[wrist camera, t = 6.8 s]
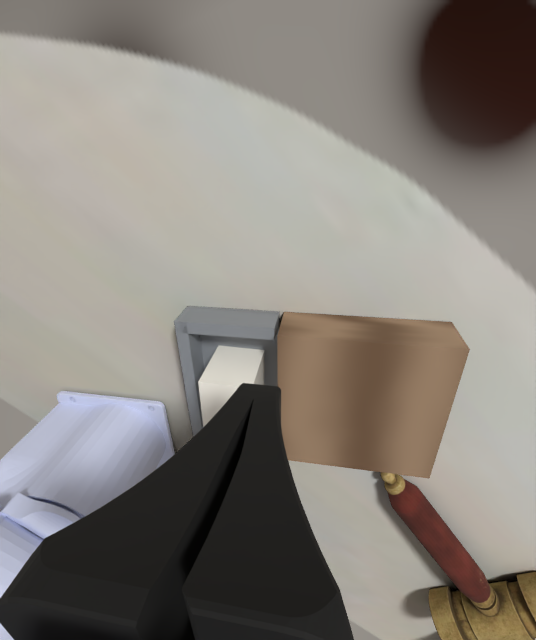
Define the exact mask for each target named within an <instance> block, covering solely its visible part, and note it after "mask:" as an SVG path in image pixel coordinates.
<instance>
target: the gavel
mask: <svg viewBox="0 0 536 640" xmlns="http://www.w3.org/2000/svg"><path fill="white" fill-rule="evenodd" d="M381 478H382V479H383V480H384V481H385V489H386V490H387V492H388V495H389V499H390V502H391V505H392V507H393V509H394V510H395V511H396V512H397V514H398V515H399V516H400V517H401V519H402V520H403V521H404V522H405V524H406V525H407V526H408V527H409V529H410V530H411V531H412V532H413V533H414V535H415V536H416V537H417V538H418V540H419V541H420V542H421V543H422V545H423V546H424V547H425V548H426V550H427V551H428V552H429V553H430V554H431V556H432V557H433V558H434V559H435V561H436V562H437V563H438V564H439V566H440V567H441V568H442V569H443V571H444V572H445V573H446V574H447V576H448V577H449V578H450V579H451V580H452V582H453V583H454V584H455V585H456V587H457V588H458V589H459V591H453V590H452V589H451V588H450V587H449V586H445V587H439V588H433V589H430V591H429V607H430V611H431V615H432V619H433V622H434V625H435V627H436V630H437V632H438V635H439V637H440V639H441V640H535V638H536V571H535V572H529V573H523V574H517V579H518V581H516V582H510V583H509V582H508V581H501V582H495V583H488V581H487V579H486V577H485V575H484V573H483V572H482V570H481V569H480V568H479V566H478V565H477V564H476V563H475V561H474V560H473V559H472V557H471V556H470V555H469V553H468V552H467V551H466V549H465V548H464V547H463V546H462V544H461V543H460V542H459V540H458V539H457V538H456V536H455V535H454V534H453V533H452V531H451V530H450V529H449V527H448V526H447V525H446V523H445V522H444V521H443V520H442V518H441V517H440V516H439V514H438V513H437V512H436V510H435V509H434V508H433V507H432V505H431V504H430V503H429V501H428V500H427V499H426V497H425V496H424V495H423V493H422V492H421V491H420V490H419V488H418V487H417V486H415V485H414V484H412V483H410V482H408V481H407V480H405V479H403V478H402V477H401V476H400V475H398V474H392V473H384V472H381Z"/></svg>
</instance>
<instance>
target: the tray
mask: <svg viewBox="0 0 536 640" xmlns="http://www.w3.org/2000/svg"><path fill="white" fill-rule="evenodd" d="M174 325H175V331H176V337H177V343H178V349H179V355H180V361H181V367H182V373H183V379H184V385H185V391H186V397H187V403H188V409H189V415H190V421H191V427H192V433H193V437H194V436H195V435H196V434H197V433H198V432H199V431H200V430H201V429H202V428H203V420H202V411H201V402H200V393H199V384H198V381H199V380H200V378H201V376H202V374H203V372H204V371H205V369H206V367H207V365H208V363H209V362H210V360H211V358H212V356H213V354H214V353H215V351H216V349H217V347H218V345H219V346H229V347H239V348H249V349H259V350H264V385H270V386H278V365H277V335H278V332H279V312H277V311H261V310H244V309H228V308H212V307H195V306H187V307H186V308H185V309H184V311H183V312H182V313H181V314H180V315H179V316H178V317H177V319H176V320H175V321H174Z"/></svg>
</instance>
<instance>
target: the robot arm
mask: <svg viewBox="0 0 536 640" xmlns="http://www.w3.org/2000/svg"><path fill="white" fill-rule="evenodd" d="M57 399H58V402H59V404H58V405H57V406H56V407H54V408H53V409H52V410H51V411H50V412H49V413H48V414H47V415H46V416H45V417H44V418H43V419H42V420H41V421H40V422H39V423H38V424H37V425H36V426H35V427H34V428H33V429H32V430H31V431H30V432H28V433H27V434H26V435H25V436H24V437H23V438H22V439H21V440H20V441H19V442H18V443H17V444H16V445H15V446H14V447H13V448H12V449H11V450H10V451H9V452H8V453H7V454H6V455H5V456H4V457H3V458H2V459H1V460H0V640H354V639H353V635H352V631H351V627H350V624H349V620H348V616H347V613H346V610H345V607H344V603H343V600H342V596H341V593H340V589H339V587H338V585H337V583H336V581H335V579H334V577H333V575H332V573H331V571H330V569H329V567H328V565H327V563H326V561H325V559H324V556H323V554H322V552H321V550H320V548H319V545H318V543H317V541H316V539H315V536H314V534H313V532H312V529H311V527H310V524H309V521H308V519H307V516H306V514H305V511H304V509H303V506H302V504H301V501H300V498H299V495H298V492H297V489H296V486H295V483H294V480H293V477H292V473H291V470H290V466H289V462H288V459H287V454H286V450H285V446H284V441H283V435H282V429H281V389H280V388H279V387H278V386H270V385H260V384H249V383H242V384H241V385H240V386H239V387H238V388H237V390H236V391H235V392H234V393H233V395H232V396H231V397H230V398H229V400H228V401H227V402H226V403H225V404H224V405H223V407H222V408H221V409H220V410H219V411H218V412H217V413H216V414H215V415H214V416H213V418H212V419H211V420H210V421H209V422H208V423H207V424H206V425H205V426H204V427H203V428H202V429H201V430H200V431H199V432H198V433H197V434H196V435H195V436H194V437H193V438H192V439H191V440H190V441H189V442H188V443H187V444H186V445H185V446H183V447H182V448H181V449H180V450H179V451H178V452H177V453H176V454H175V452H174V447H173V442H172V438H171V433H170V428H169V423H168V418H167V414H166V409H165V405H164V404H163V403H162V402H159V401H151V400H142V399H133V398H123V397H114V396H105V395H96V394H87V393H77V392H68V391H60V392H59V393H58V394H57ZM152 406H153V407H152Z"/></svg>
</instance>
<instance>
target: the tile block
mask: <svg viewBox="0 0 536 640" xmlns="http://www.w3.org/2000/svg"><path fill="white" fill-rule="evenodd" d="M242 383H249V384H260V385H264V350H259V349H249V348H239V347H229V346H219V345H218V347H217V349H216V351H215V353H214V354H213V356H212V358H211V360H210V362H209V363H208V365H207V367H206V369H205V371H204V372H203V374H202V376H201V378H200V380H199V381H198V384H199V393H200V402H201V411H202V420H203V427H204V426H205V425H206V424H207V423H208V422H209V421H210V420H211V419H212V418H213V416H214V415H215V414H216V413H217V412H218V411H219V410H220V409H221V408H222V407H223V405H224V404H225V403H226V402H227V401H228V400H229V398H230V397H231V396H232V395H233V393H234V392H235V391H236V390H237V388H238V387H239V386H240V385H241V384H242Z"/></svg>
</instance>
